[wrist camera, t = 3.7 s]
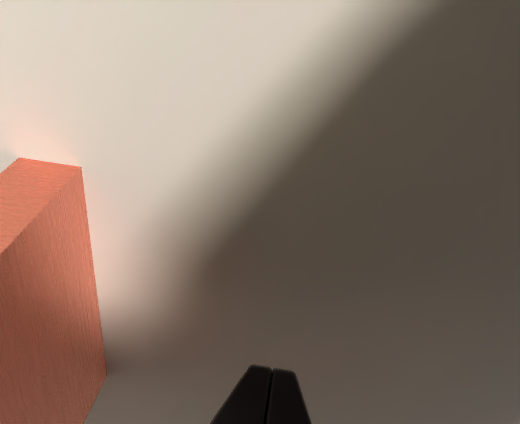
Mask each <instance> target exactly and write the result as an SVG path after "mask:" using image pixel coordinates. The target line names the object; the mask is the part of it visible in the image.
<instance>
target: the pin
mask: <svg viewBox="0 0 520 424" xmlns="http://www.w3.org/2000/svg"><path fill="white" fill-rule="evenodd" d="M106 376H107V372H106V364H105V356H104V348H103V340H102V332H101V323H100V315H99V307H98V299H97V291H96V283H95V275H94V267H93V259H92V251H91V243H90V235H89V227H88V219H87V211H86V202H85V194H84V186H83V178H82V170H81V167H77V166H71V165H64V164H57V163H51V162H44V161H38V160H31V159H25V158H18V159H17V160H16V161H15V162H13V163H12V164H11V165H10V166H9V167H8V168H6V169H5V170H4V171H3V172H2V173H0V424H84V422H85V419H86V417H87V415H88V413H89V411H90V409H91V407H92V405H93V403H94V401H95V399H96V397H97V394H98V392H99V390H100V388H101V386H102V384H103V382H104V380H105V378H106Z"/></svg>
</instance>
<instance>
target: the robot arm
mask: <svg viewBox="0 0 520 424" xmlns="http://www.w3.org/2000/svg"><path fill="white" fill-rule="evenodd" d="M271 375H272V377H271ZM270 382H271V383H270ZM269 389H270V390H269ZM210 424H312V423H311V420H310V417H309V414H308V411H307V408H306V405H305V401H304V398H303V395H302V392H301V389H300V386H299V383H298V380H297V377H296V374H295V373H294V372H293V371H291V370H285V369H279V368H275V369H273V371H272V369H271V368H270V367H267V366H261V365H255V364H253V365H251V366H249V367H248V369H247V370H246V372H245V373H244V375H243V376H242V378H241V379H240V380H239V382H238V383H237V385H236V386H235V388H234V389H233V391H232V392H231V394H230V395H229V397H228V398H227V399H226V401H225V402H224V404H223V405H222V407H221V408H220V410H219V411H218V413H217V414H216V415H215V417H214V418H213V420H212V421H211V423H210Z"/></svg>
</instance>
